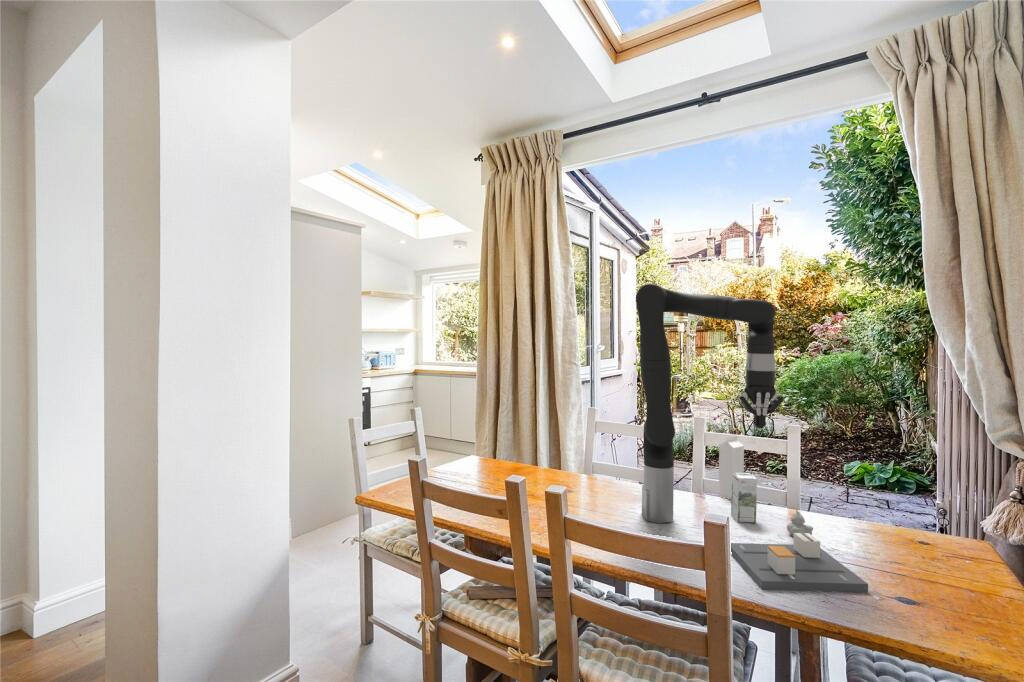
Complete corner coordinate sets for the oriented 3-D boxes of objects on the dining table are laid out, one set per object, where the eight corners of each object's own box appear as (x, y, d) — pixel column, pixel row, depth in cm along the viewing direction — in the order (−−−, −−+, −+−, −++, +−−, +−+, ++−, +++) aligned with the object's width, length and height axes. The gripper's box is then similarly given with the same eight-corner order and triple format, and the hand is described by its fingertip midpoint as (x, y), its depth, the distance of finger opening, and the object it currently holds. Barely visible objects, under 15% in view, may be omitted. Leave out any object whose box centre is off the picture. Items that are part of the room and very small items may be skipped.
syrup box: (749, 516, 155) (749, 472, 154) (756, 523, 149) (757, 477, 148) (730, 515, 155) (731, 471, 155) (737, 523, 149) (738, 477, 149)
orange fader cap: (777, 573, 113) (778, 555, 113) (767, 563, 118) (767, 545, 118) (794, 574, 113) (795, 555, 113) (783, 564, 118) (784, 546, 118)
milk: (743, 497, 173) (744, 437, 172) (732, 500, 170) (734, 439, 169) (728, 492, 178) (729, 434, 177) (718, 495, 175) (719, 435, 174)
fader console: (761, 589, 111) (761, 580, 111) (726, 550, 131) (727, 542, 131) (868, 592, 109) (868, 583, 109) (816, 552, 129) (816, 544, 129)
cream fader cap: (804, 557, 122) (804, 539, 122) (793, 548, 127) (793, 531, 127) (820, 557, 122) (820, 540, 122) (808, 548, 127) (809, 532, 127)
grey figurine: (788, 530, 144) (788, 504, 143) (814, 536, 140) (814, 509, 139) (785, 536, 139) (785, 509, 139) (811, 543, 135) (812, 515, 135)
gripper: (742, 369, 136) (742, 430, 136) (790, 370, 135) (789, 430, 135) (732, 367, 143) (731, 425, 143) (776, 368, 142) (776, 425, 143)
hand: (759, 427), depth 139 cm, fingers closed
